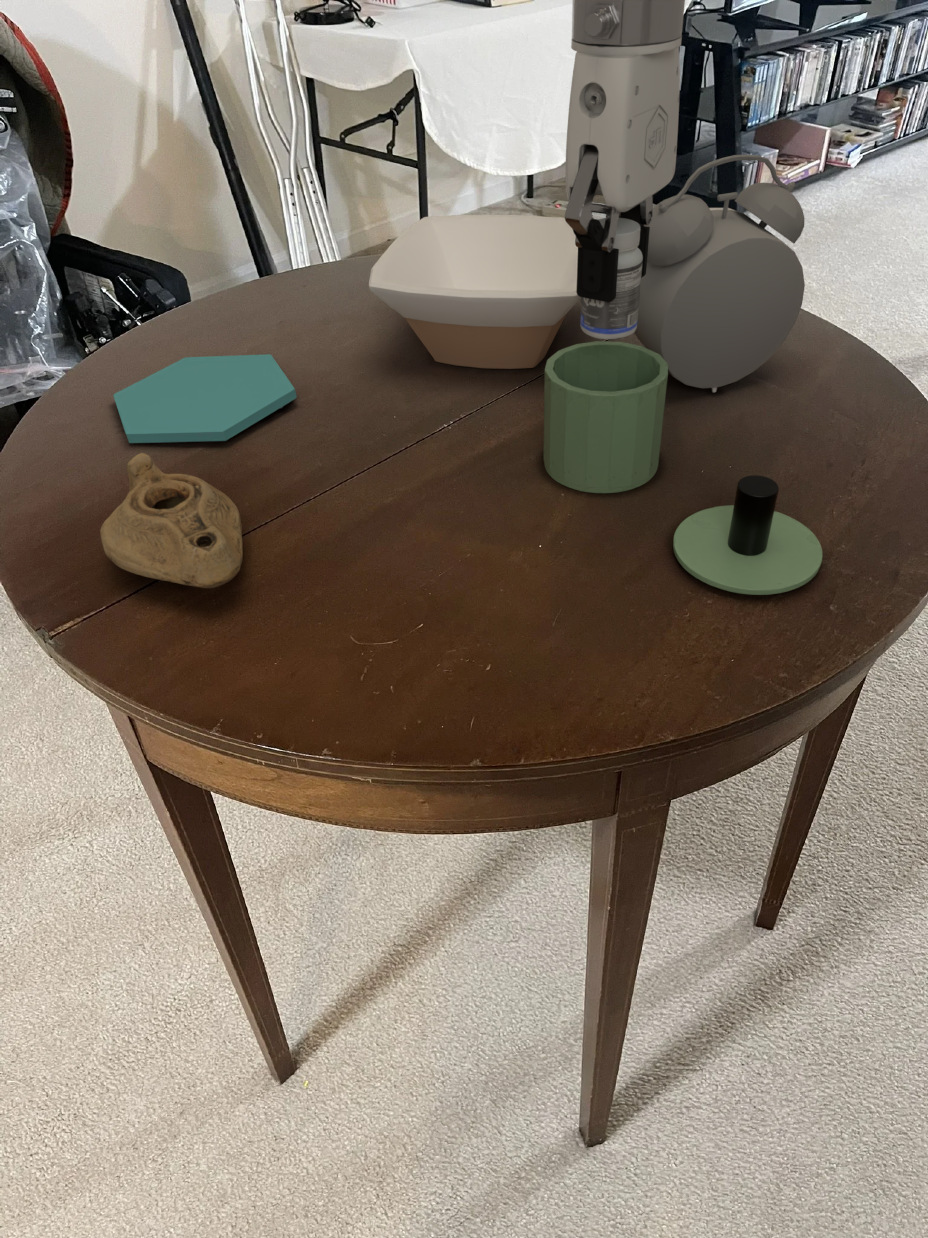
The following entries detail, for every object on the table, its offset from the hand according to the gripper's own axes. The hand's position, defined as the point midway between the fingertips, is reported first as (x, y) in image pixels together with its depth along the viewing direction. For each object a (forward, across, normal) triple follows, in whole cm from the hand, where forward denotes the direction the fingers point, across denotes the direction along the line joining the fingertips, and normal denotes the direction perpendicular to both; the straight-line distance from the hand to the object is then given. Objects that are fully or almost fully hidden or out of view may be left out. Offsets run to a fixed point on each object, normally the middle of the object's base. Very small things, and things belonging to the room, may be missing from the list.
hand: (611, 283), depth 75 cm
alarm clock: (+17, +20, -2) cm, 26 cm away
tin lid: (+16, -7, -16) cm, 24 cm away
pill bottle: (+4, 0, 0) cm, 4 cm away
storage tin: (+17, 0, 0) cm, 17 cm away
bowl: (+17, +18, +22) cm, 33 cm away
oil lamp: (+17, -31, +22) cm, 41 cm away
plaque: (+17, -10, +41) cm, 46 cm away
